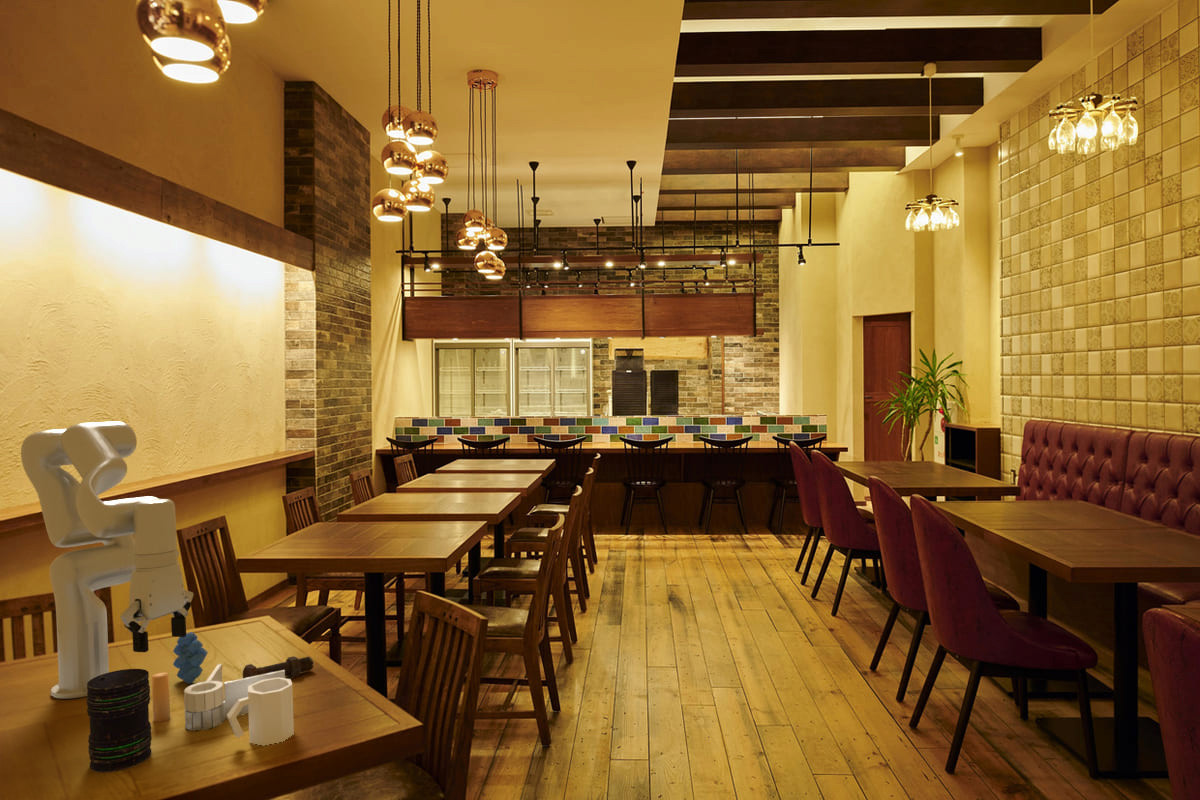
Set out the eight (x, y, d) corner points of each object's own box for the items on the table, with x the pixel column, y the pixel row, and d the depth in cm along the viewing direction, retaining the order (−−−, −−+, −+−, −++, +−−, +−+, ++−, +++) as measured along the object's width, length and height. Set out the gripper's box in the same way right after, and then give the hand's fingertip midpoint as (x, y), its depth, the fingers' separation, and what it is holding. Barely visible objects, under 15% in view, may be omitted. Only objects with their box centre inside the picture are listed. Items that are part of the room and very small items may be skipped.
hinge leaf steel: (183, 721, 159) (182, 686, 159) (281, 699, 170) (280, 665, 169) (187, 733, 153) (186, 696, 153) (289, 709, 164) (288, 675, 164)
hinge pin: (152, 718, 161) (151, 674, 161) (169, 714, 163) (167, 671, 163) (154, 723, 159) (152, 679, 159) (170, 719, 160) (169, 675, 160)
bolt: (312, 679, 186) (247, 695, 176) (304, 664, 189) (240, 679, 179) (318, 660, 184) (253, 676, 174) (310, 646, 187) (245, 660, 177)
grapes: (220, 682, 180) (218, 631, 180) (190, 692, 175) (188, 638, 175) (197, 672, 187) (195, 622, 187) (167, 681, 182) (165, 629, 182)
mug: (283, 722, 157) (281, 674, 157) (302, 735, 151) (301, 684, 151) (220, 743, 149) (219, 692, 149) (239, 757, 143) (237, 704, 143)
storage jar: (162, 746, 148) (160, 667, 148) (133, 771, 139) (130, 687, 138) (109, 748, 148) (106, 669, 148) (76, 773, 138) (73, 689, 138)
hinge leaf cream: (219, 726, 156) (218, 691, 155) (181, 731, 154) (180, 695, 154) (237, 694, 172) (236, 662, 172) (203, 697, 171) (202, 665, 171)
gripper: (174, 551, 170) (178, 630, 170) (105, 569, 153) (109, 657, 153) (203, 551, 168) (207, 631, 168) (136, 570, 151) (140, 658, 151)
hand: (160, 643), depth 160 cm, fingers open, 9 cm apart
